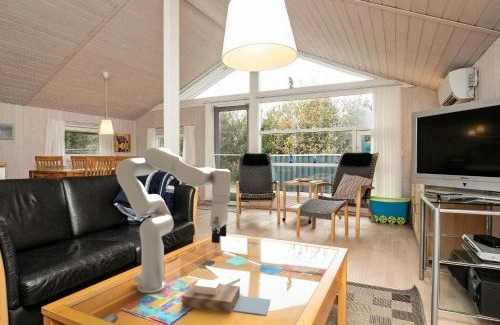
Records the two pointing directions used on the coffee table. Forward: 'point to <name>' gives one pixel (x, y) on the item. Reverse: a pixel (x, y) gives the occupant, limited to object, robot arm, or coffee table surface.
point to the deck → (212, 298)
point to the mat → (252, 305)
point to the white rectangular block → (207, 287)
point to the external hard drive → (227, 279)
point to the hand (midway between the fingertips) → (219, 239)
